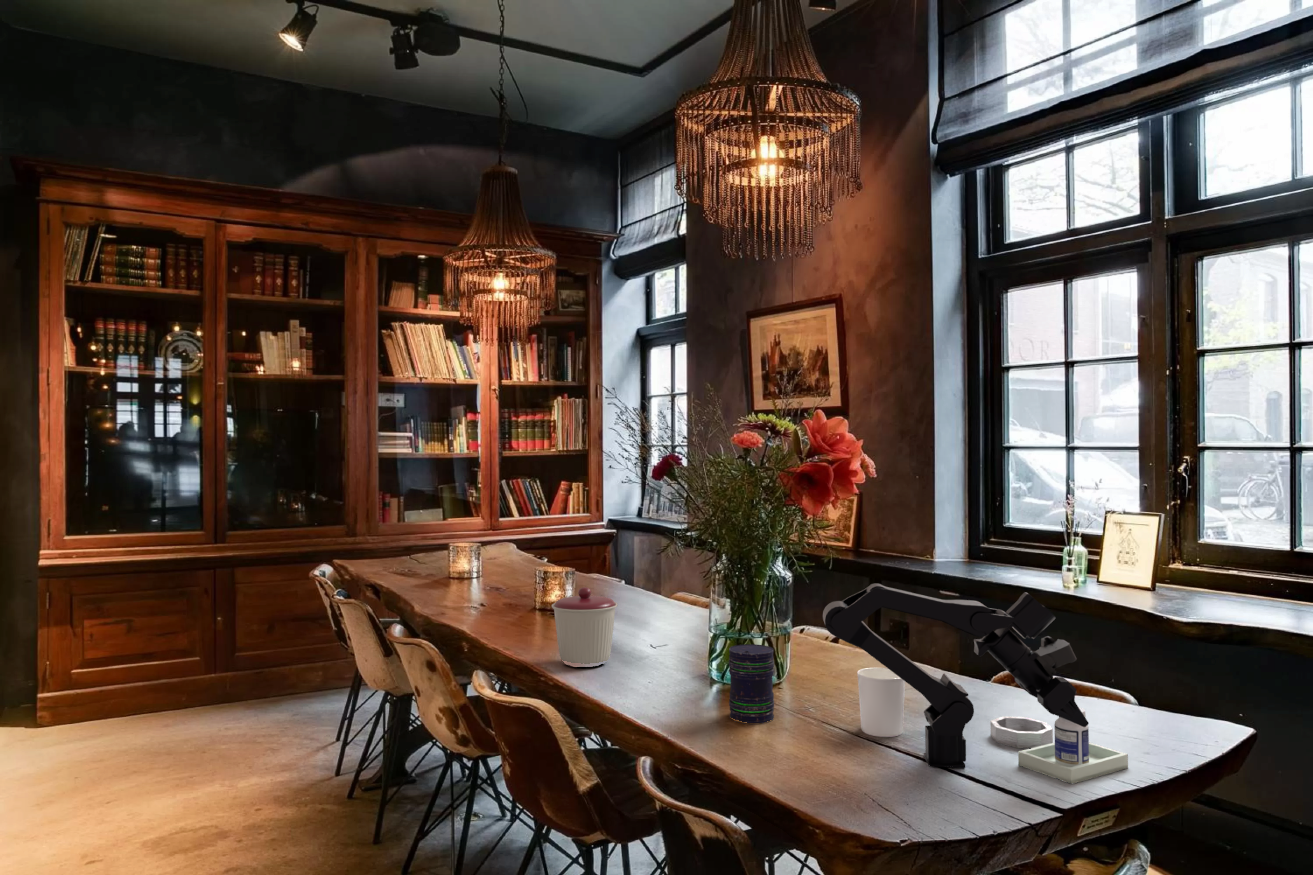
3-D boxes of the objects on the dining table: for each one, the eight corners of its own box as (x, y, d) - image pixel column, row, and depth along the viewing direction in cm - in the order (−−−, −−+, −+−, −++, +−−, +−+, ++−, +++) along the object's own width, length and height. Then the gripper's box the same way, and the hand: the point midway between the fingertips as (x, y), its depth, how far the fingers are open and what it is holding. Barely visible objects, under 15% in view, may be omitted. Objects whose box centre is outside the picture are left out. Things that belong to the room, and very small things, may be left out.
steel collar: (1000, 747, 176) (1000, 732, 176) (986, 730, 187) (986, 715, 187) (1058, 749, 175) (1057, 733, 175) (1040, 731, 185) (1040, 717, 185)
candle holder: (848, 727, 189) (847, 670, 189) (886, 721, 193) (885, 665, 193) (877, 740, 180) (876, 680, 180) (916, 734, 184) (915, 675, 184)
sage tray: (1071, 784, 156) (1071, 769, 156) (1018, 764, 166) (1018, 751, 166) (1128, 767, 164) (1127, 753, 164) (1074, 750, 174) (1073, 737, 174)
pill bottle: (1076, 756, 168) (1075, 703, 169) (1095, 767, 163) (1095, 712, 163) (1048, 758, 167) (1048, 705, 168) (1067, 769, 162) (1067, 713, 162)
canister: (538, 664, 247) (538, 587, 248) (590, 653, 260) (590, 580, 260) (578, 675, 234) (578, 594, 234) (631, 664, 246) (631, 587, 246)
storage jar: (738, 708, 203) (738, 642, 204) (780, 714, 199) (779, 646, 199) (722, 720, 194) (721, 651, 195) (765, 726, 190) (765, 655, 190)
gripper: (1063, 636, 157) (1130, 701, 155) (1031, 616, 175) (1091, 674, 174) (1016, 680, 158) (1083, 745, 156) (989, 656, 176) (1049, 714, 175)
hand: (1077, 717), depth 165 cm, fingers open, 9 cm apart
